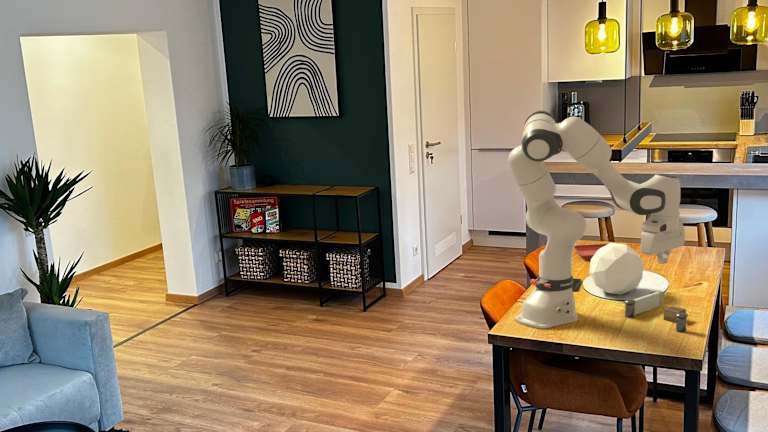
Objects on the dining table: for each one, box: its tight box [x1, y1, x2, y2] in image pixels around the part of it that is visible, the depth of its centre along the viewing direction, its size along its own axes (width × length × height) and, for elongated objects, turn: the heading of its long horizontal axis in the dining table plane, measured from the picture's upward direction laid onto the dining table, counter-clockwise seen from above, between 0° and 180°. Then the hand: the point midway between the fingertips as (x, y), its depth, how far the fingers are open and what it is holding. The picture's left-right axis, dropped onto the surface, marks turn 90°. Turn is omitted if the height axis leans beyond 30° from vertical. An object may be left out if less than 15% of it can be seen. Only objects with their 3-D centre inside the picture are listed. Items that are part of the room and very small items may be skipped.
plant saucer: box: [574, 243, 609, 261], centre depth 320 cm, size 18×18×3 cm
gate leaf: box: [633, 290, 664, 316], centre depth 246 cm, size 1×15×5 cm, turn 123°
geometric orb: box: [588, 242, 645, 296], centre depth 266 cm, size 19×20×20 cm
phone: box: [572, 277, 582, 293], centre depth 279 cm, size 8×1×15 cm
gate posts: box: [623, 298, 688, 333], centre depth 234 cm, size 4×23×6 cm, turn 37°
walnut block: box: [663, 305, 687, 324], centre depth 236 cm, size 5×5×4 cm
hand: (662, 263), depth 234 cm, fingers closed
